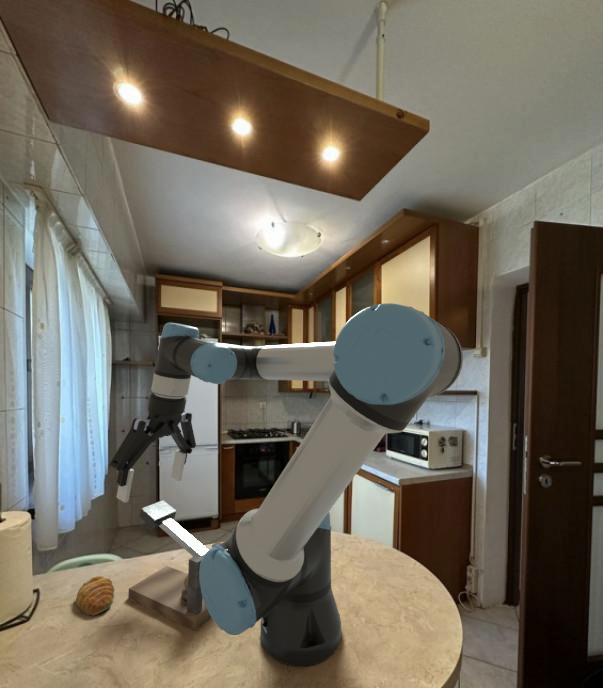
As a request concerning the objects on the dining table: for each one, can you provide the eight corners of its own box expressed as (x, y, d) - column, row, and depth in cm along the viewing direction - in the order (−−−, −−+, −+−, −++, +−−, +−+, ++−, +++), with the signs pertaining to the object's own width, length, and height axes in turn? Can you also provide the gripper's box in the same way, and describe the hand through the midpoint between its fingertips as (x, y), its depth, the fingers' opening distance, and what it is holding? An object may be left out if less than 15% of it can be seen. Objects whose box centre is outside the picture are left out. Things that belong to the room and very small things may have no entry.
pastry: (120, 607, 69) (121, 587, 69) (83, 624, 64) (84, 603, 64) (108, 587, 75) (109, 569, 76) (73, 601, 71) (74, 582, 71)
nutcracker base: (229, 599, 71) (231, 543, 72) (195, 630, 62) (197, 565, 63) (166, 574, 80) (168, 525, 81) (128, 598, 71) (131, 542, 72)
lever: (220, 560, 70) (223, 549, 70) (199, 575, 65) (203, 563, 65) (160, 510, 80) (163, 500, 80) (138, 519, 75) (141, 508, 75)
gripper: (198, 386, 84) (183, 466, 84) (102, 394, 61) (82, 502, 62) (220, 394, 80) (204, 477, 81) (126, 405, 58) (105, 519, 59)
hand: (151, 488), depth 72 cm, fingers open, 13 cm apart
